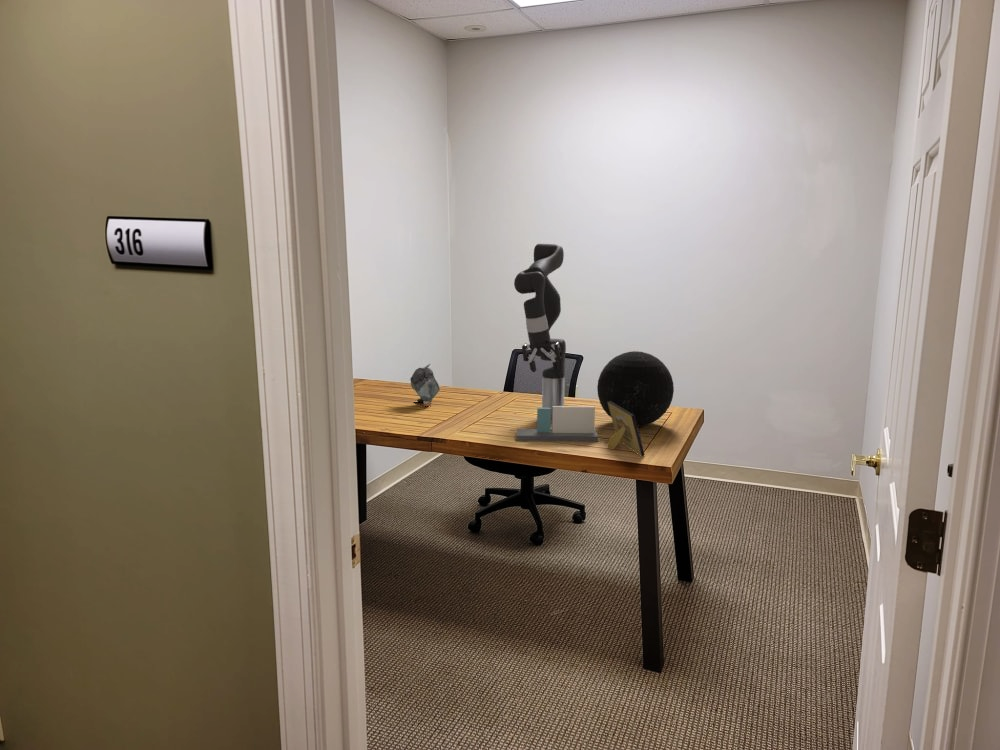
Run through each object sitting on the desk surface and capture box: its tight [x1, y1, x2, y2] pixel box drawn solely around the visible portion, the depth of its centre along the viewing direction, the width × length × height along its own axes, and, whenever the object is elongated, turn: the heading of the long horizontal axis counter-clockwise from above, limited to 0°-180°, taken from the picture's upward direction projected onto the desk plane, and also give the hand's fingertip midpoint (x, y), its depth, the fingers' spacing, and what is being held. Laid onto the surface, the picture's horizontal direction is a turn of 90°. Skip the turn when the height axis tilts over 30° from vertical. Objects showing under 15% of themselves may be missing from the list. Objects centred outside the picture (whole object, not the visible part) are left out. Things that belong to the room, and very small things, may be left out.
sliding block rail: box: [516, 405, 599, 443], centre depth 263 cm, size 10×30×12 cm, turn 88°
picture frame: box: [606, 401, 646, 457], centre depth 249 cm, size 23×9×15 cm, turn 12°
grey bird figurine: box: [409, 363, 441, 407], centre depth 317 cm, size 14×15×18 cm
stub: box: [536, 407, 552, 432], centre depth 263 cm, size 1×5×9 cm, turn 88°
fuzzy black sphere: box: [596, 350, 675, 427], centre depth 280 cm, size 30×30×30 cm
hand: (545, 371), depth 252 cm, fingers open, 8 cm apart
